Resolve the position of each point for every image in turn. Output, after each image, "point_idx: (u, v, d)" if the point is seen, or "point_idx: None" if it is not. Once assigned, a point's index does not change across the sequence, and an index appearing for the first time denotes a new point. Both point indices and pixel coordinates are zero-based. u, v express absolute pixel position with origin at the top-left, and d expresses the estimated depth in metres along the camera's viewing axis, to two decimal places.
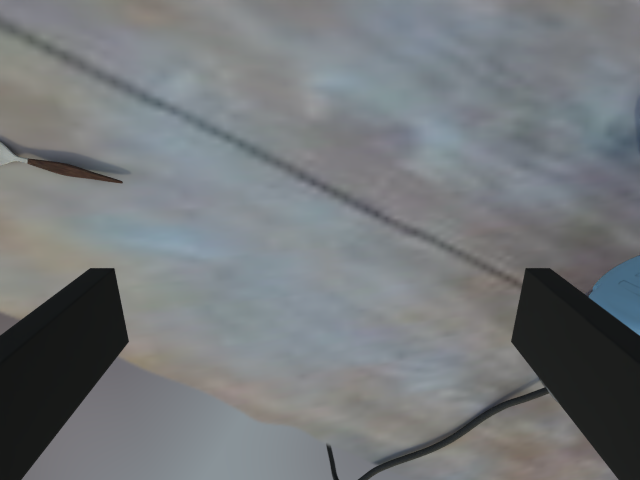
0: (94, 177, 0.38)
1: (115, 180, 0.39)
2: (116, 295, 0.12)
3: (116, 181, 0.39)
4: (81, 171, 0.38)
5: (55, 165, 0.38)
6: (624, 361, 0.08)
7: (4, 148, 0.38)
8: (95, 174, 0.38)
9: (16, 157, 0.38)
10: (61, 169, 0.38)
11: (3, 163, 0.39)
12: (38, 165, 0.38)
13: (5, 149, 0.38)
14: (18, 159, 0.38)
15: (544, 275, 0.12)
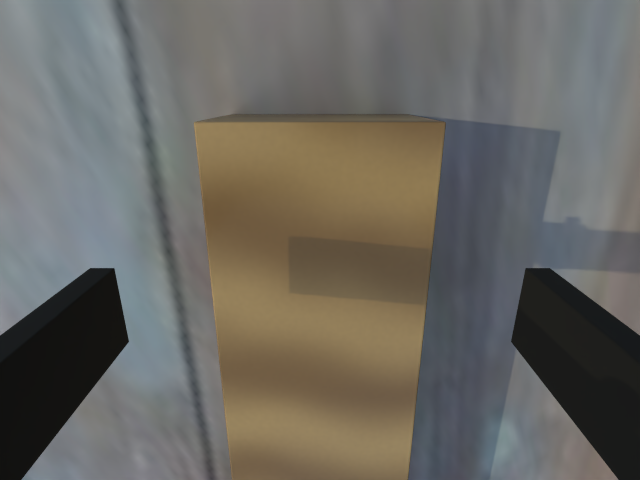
0: None
1: None
2: (116, 294, 0.12)
3: None
4: None
5: None
6: (624, 361, 0.08)
7: None
8: None
9: None
10: None
11: None
12: None
13: None
14: None
15: (544, 275, 0.12)
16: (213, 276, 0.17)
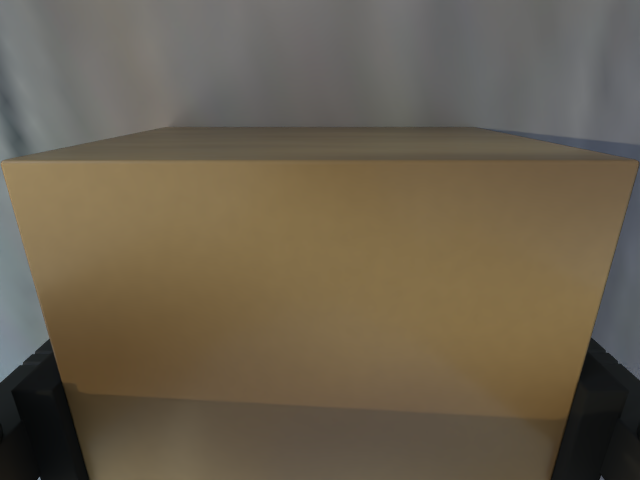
0: None
1: None
2: None
3: None
4: None
5: None
6: None
7: None
8: None
9: None
10: None
11: None
12: None
13: None
14: None
15: None
16: (94, 478, 0.08)
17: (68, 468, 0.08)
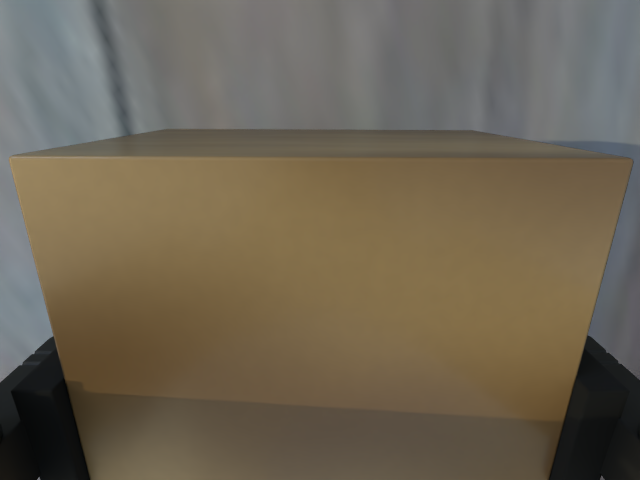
0: None
1: None
2: None
3: None
4: None
5: None
6: None
7: None
8: None
9: None
10: None
11: None
12: None
13: None
14: None
15: None
16: (94, 475, 0.08)
17: (68, 468, 0.08)
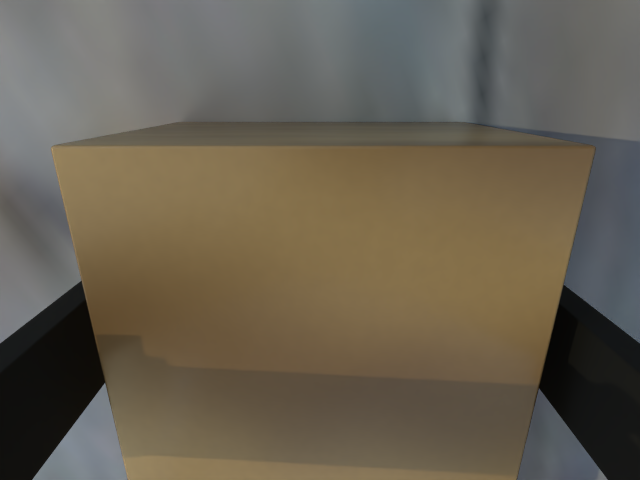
0: None
1: None
2: None
3: None
4: None
5: None
6: (607, 355, 0.08)
7: None
8: None
9: None
10: None
11: None
12: None
13: None
14: None
15: None
16: (122, 431, 0.09)
17: None
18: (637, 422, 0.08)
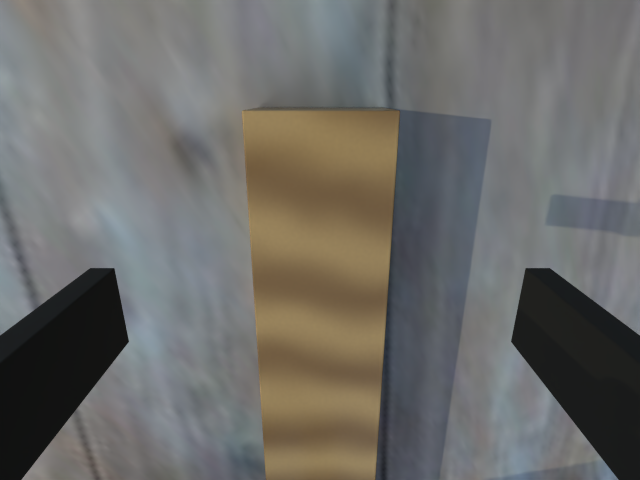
0: None
1: None
2: (116, 294, 0.12)
3: None
4: None
5: None
6: (624, 361, 0.08)
7: None
8: None
9: None
10: None
11: None
12: None
13: None
14: None
15: (544, 275, 0.12)
16: (250, 213, 0.26)
17: None
18: None
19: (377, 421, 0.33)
